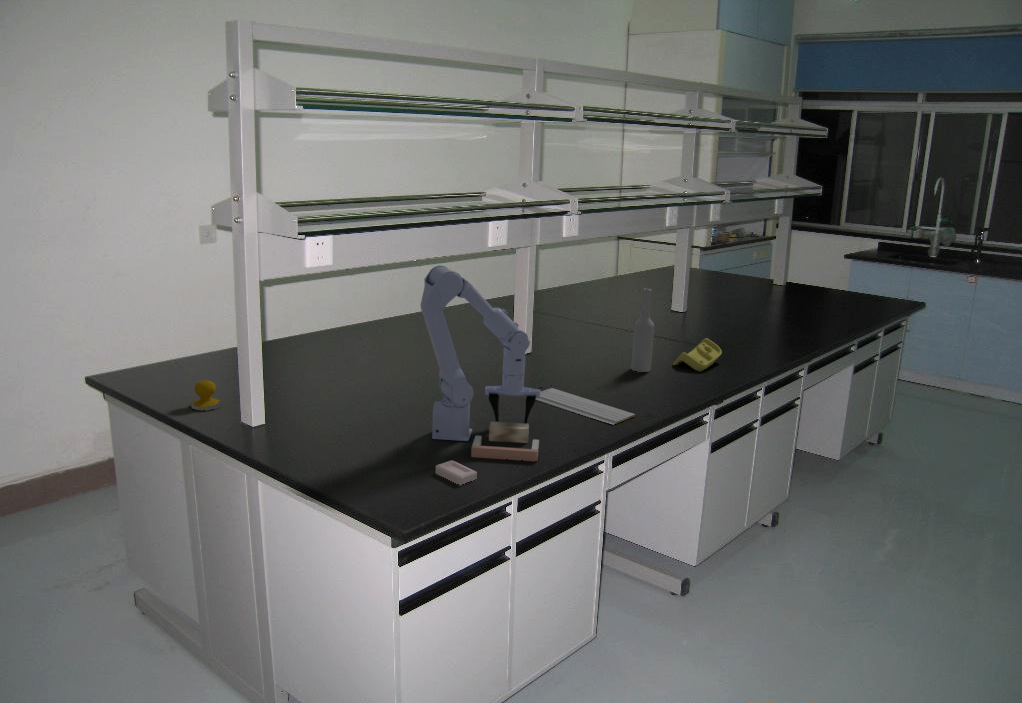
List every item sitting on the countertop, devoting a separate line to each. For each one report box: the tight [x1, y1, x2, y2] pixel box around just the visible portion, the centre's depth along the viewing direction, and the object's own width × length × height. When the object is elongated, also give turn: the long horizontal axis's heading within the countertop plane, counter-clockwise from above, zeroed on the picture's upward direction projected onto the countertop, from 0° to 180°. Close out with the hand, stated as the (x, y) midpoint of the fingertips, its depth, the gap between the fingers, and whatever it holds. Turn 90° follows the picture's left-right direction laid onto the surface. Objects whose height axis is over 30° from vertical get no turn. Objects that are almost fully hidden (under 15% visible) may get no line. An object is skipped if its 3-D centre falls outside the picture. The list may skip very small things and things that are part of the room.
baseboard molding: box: [535, 384, 636, 426], centre depth 232 cm, size 31×3×12 cm
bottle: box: [630, 288, 655, 373], centre depth 269 cm, size 7×7×28 cm
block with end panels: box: [470, 435, 540, 462], centre depth 198 cm, size 16×8×2 cm, turn 85°
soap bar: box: [435, 460, 478, 486], centre depth 183 cm, size 5×9×2 cm, turn 44°
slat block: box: [488, 421, 530, 444], centre depth 207 cm, size 10×4×4 cm, turn 87°
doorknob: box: [192, 379, 220, 407], centre depth 221 cm, size 8×8×8 cm
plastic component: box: [672, 338, 723, 372], centre depth 283 cm, size 20×7×10 cm
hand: (511, 421), depth 214 cm, fingers open, 7 cm apart
